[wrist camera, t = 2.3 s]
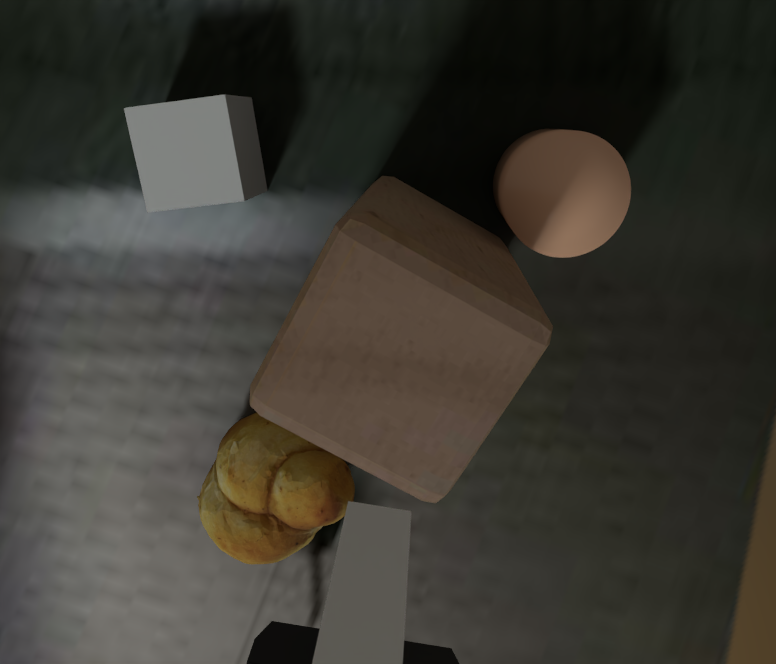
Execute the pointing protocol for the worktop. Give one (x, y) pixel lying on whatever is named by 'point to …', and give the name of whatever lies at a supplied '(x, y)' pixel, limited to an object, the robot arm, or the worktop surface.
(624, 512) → the worktop surface
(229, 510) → the bread roll
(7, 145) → the worktop surface
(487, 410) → the wooden block
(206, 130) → the grey plastic cube
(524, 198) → the peach round cylinder
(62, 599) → the worktop surface
